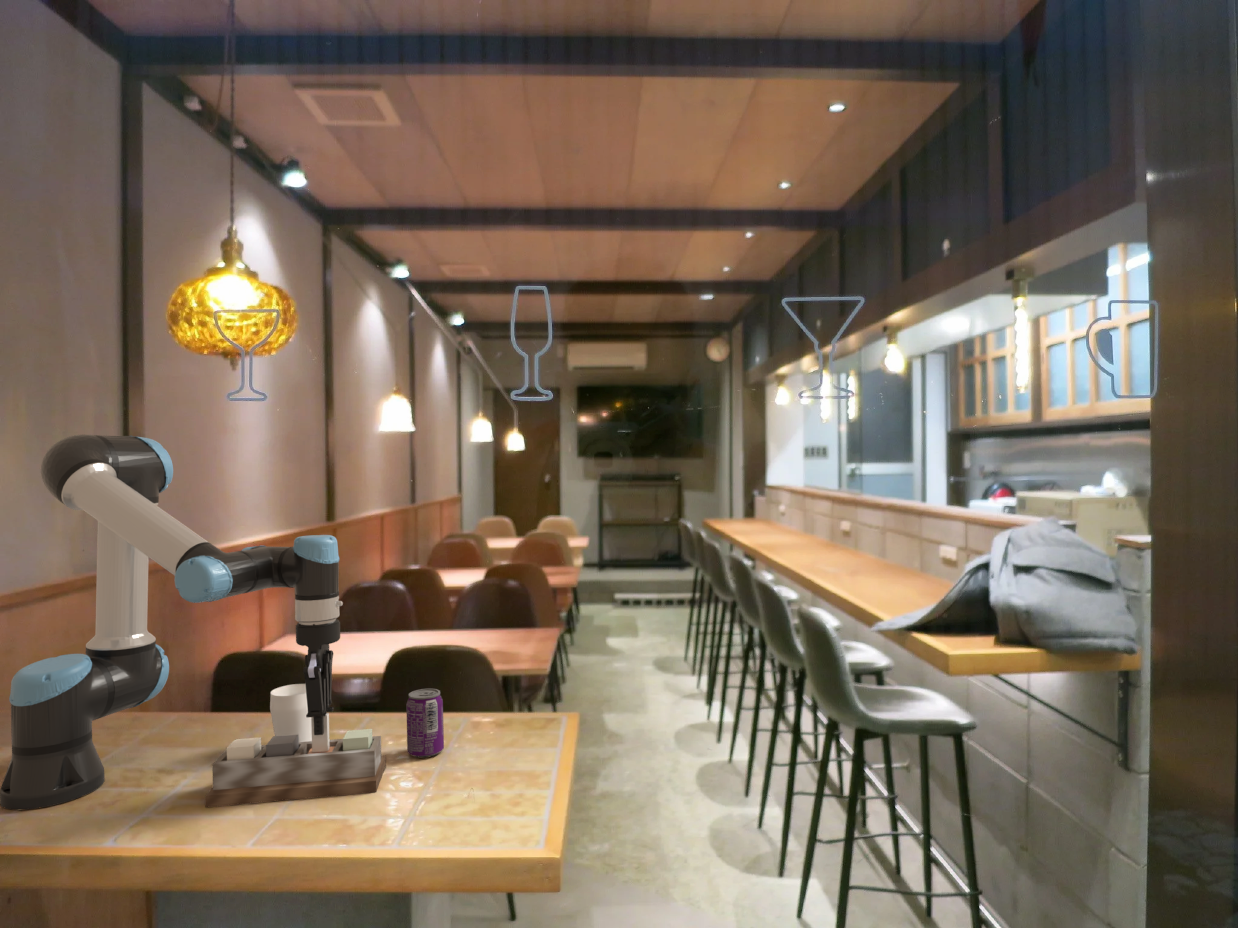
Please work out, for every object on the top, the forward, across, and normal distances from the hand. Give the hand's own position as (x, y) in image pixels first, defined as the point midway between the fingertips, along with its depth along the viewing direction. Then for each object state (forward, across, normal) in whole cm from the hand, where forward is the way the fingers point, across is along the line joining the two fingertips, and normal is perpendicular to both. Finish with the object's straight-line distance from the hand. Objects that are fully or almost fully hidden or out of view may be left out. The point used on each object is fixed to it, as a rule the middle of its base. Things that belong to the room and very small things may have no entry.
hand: (320, 750), depth 137 cm
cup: (+6, +20, +10) cm, 23 cm away
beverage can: (+6, +11, -18) cm, 22 cm away
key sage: (+1, 0, -7) cm, 7 cm away
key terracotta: (+3, 0, 0) cm, 3 cm away
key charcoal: (+1, 0, +6) cm, 7 cm away
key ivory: (+1, 0, +13) cm, 13 cm away
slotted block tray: (+6, 0, +4) cm, 7 cm away
